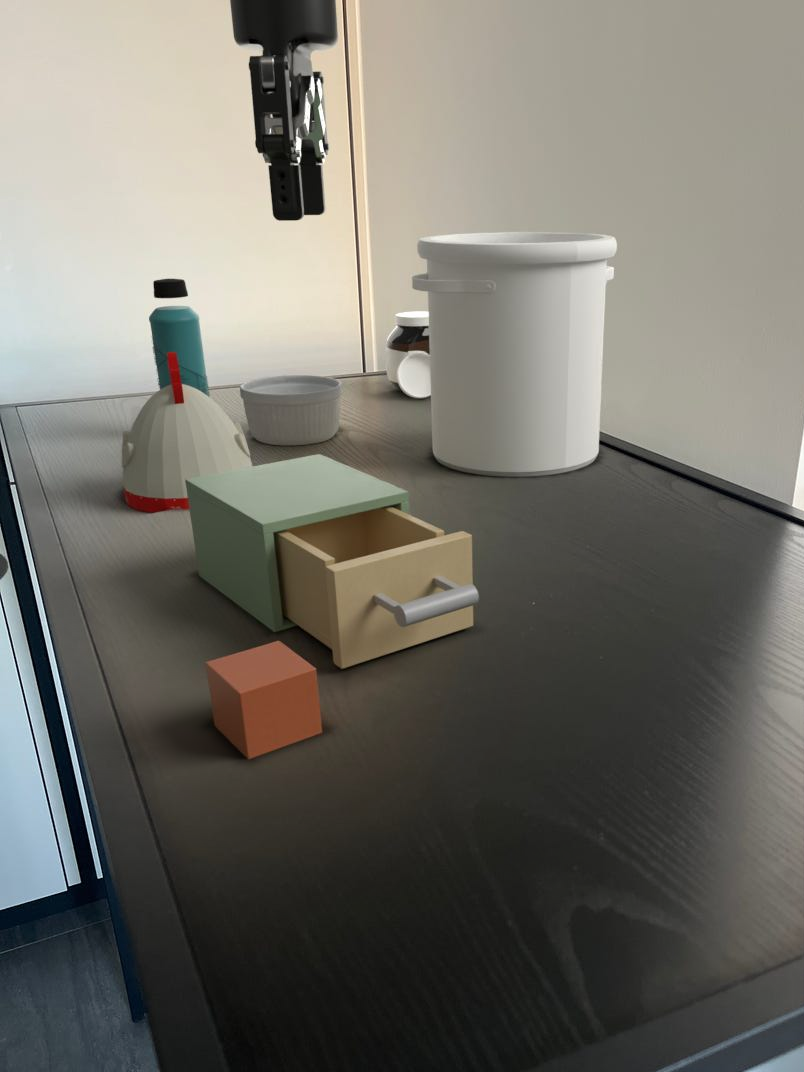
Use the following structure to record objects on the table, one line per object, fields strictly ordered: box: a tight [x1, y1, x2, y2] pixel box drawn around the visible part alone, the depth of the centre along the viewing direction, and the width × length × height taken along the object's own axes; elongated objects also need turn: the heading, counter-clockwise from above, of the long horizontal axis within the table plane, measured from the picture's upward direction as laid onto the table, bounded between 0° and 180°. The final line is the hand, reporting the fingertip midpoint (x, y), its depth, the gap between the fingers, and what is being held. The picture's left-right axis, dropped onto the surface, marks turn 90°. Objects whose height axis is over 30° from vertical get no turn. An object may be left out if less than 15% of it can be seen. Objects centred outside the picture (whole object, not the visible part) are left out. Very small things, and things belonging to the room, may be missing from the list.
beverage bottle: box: [148, 278, 211, 398], centre depth 126 cm, size 6×7×20 cm
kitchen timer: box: [121, 352, 254, 514], centre depth 104 cm, size 14×14×15 cm
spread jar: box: [385, 311, 431, 400], centre depth 152 cm, size 12×11×12 cm
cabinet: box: [185, 453, 410, 633], centre depth 81 cm, size 15×13×9 cm
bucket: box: [411, 231, 618, 478], centre depth 114 cm, size 26×22×25 cm
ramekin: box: [239, 374, 344, 446], centre depth 129 cm, size 13×13×7 cm
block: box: [205, 640, 323, 760], centre depth 60 cm, size 5×5×5 cm
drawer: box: [273, 506, 480, 670], centre depth 72 cm, size 18×11×7 cm, turn 37°
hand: (301, 217), depth 76 cm, fingers open, 8 cm apart
